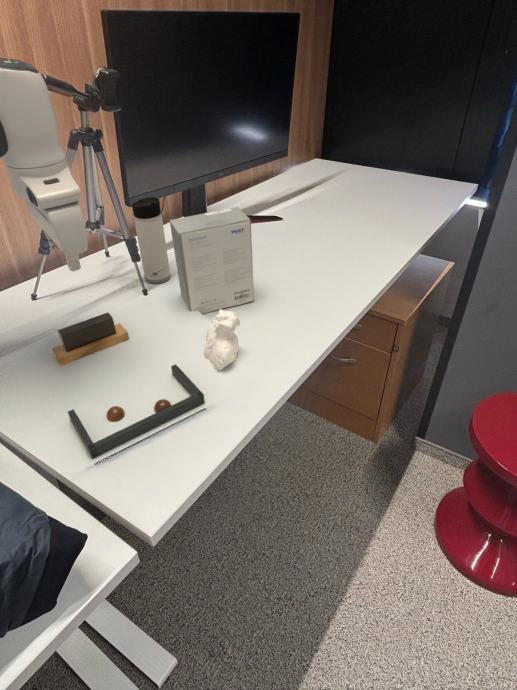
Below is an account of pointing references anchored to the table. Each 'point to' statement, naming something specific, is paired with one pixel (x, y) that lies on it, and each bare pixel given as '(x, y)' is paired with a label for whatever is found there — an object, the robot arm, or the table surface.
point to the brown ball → (161, 405)
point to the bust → (222, 339)
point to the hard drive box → (214, 259)
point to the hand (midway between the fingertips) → (65, 258)
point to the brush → (88, 338)
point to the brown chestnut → (115, 414)
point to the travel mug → (151, 240)
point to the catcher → (145, 424)
